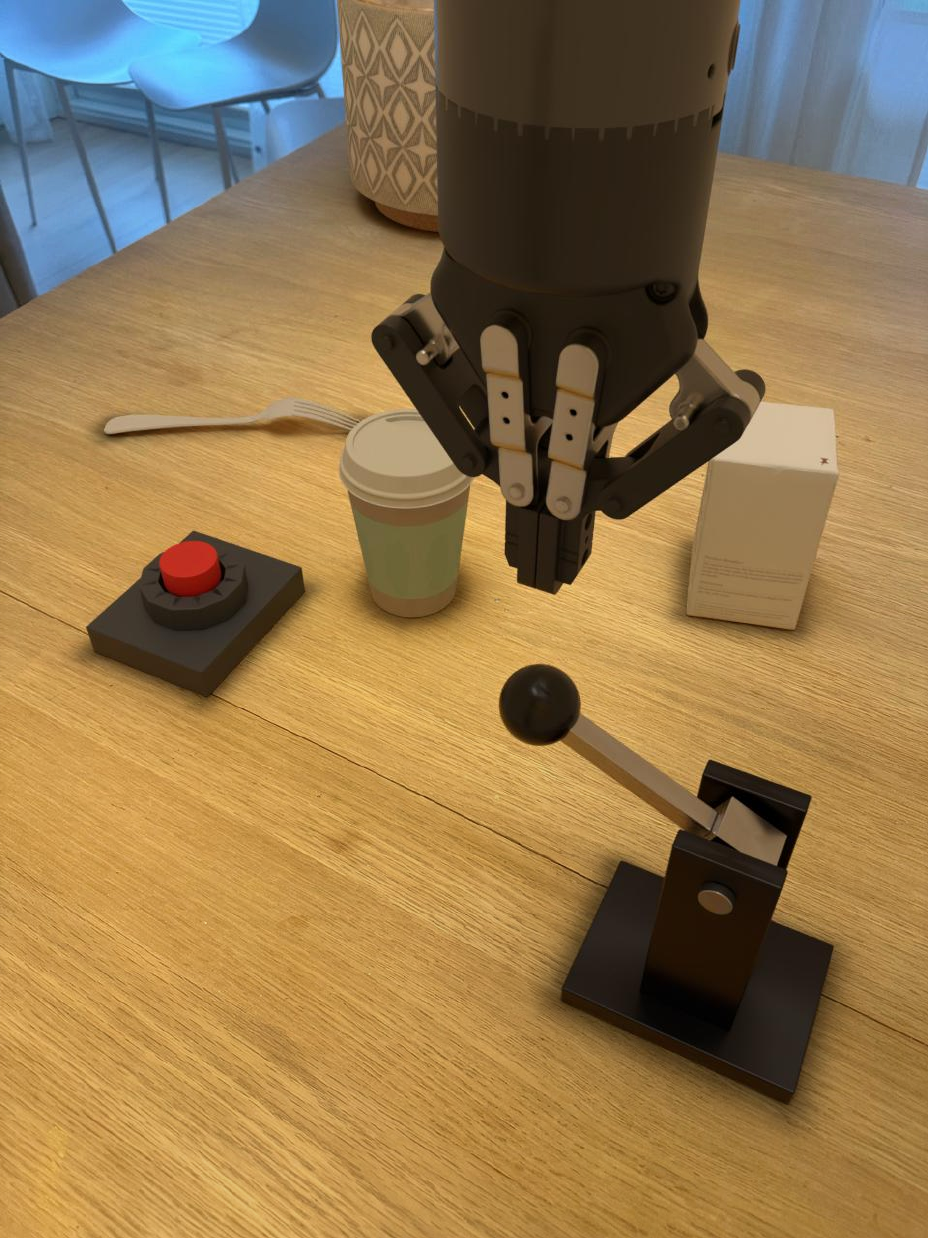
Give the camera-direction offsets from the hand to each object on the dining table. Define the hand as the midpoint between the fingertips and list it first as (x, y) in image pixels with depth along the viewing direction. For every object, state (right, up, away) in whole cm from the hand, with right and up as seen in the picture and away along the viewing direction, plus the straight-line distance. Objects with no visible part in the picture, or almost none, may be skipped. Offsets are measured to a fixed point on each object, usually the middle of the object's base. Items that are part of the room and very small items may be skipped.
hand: (547, 576), depth 39 cm
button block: (-20, -2, +31) cm, 37 cm away
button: (-20, +1, +28) cm, 35 cm away
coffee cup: (-7, 0, +33) cm, 34 cm away
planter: (-3, +47, +84) cm, 96 cm away
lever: (+3, -9, +6) cm, 11 cm away
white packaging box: (+16, 0, +33) cm, 37 cm away
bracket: (+8, -19, +12) cm, 24 cm away
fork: (-22, +14, +48) cm, 55 cm away
